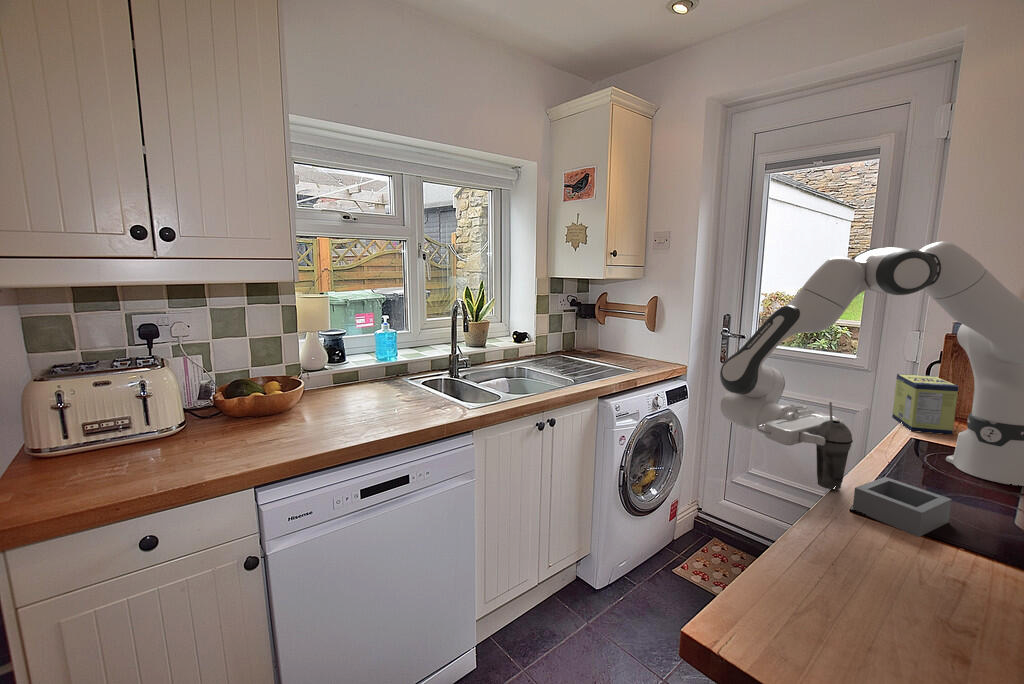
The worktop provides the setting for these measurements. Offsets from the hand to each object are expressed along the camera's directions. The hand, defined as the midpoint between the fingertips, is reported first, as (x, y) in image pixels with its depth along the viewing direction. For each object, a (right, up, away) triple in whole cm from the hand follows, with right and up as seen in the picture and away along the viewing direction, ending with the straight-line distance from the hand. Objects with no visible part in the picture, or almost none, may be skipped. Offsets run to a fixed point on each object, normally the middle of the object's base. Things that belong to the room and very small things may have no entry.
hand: (837, 438), depth 105 cm
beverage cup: (0, -12, +3) cm, 12 cm away
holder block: (+6, -14, -10) cm, 18 cm away
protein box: (+58, -5, +44) cm, 73 cm away
